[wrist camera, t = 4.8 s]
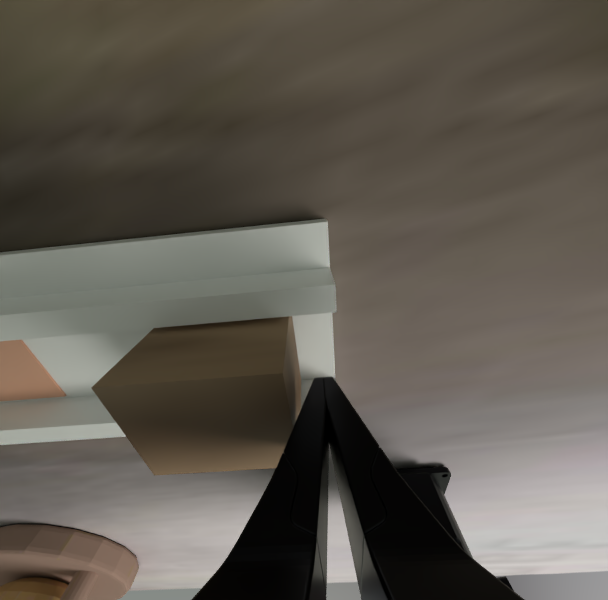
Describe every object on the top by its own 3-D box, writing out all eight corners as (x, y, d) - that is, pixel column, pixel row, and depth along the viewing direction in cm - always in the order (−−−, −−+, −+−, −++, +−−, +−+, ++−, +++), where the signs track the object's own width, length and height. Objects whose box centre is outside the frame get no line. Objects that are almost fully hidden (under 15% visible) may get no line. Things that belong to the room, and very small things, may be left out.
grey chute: (335, 400, 16) (341, 444, 13) (34, 421, 17) (-18, 467, 14) (325, 218, 10) (333, 230, 8) (-119, 264, 11) (-251, 289, 9)
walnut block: (301, 380, 13) (300, 466, 9) (199, 387, 13) (154, 475, 9) (290, 303, 11) (282, 373, 7) (168, 314, 11) (90, 388, 7)
